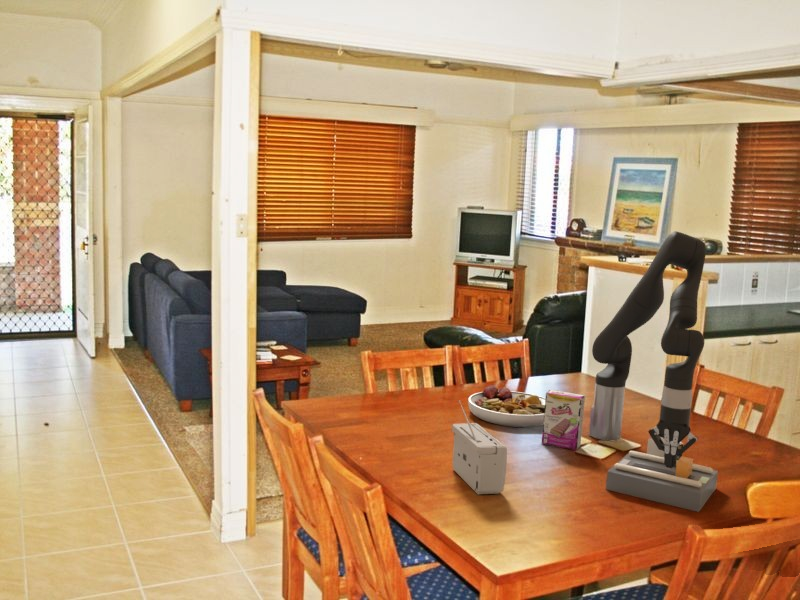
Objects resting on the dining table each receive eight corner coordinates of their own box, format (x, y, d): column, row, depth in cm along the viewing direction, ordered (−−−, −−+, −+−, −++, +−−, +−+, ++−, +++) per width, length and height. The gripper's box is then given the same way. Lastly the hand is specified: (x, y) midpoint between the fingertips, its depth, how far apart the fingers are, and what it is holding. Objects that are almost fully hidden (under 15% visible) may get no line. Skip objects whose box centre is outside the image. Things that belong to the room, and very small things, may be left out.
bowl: (575, 423, 287) (577, 400, 285) (508, 435, 270) (509, 410, 268) (514, 400, 311) (516, 379, 310) (449, 409, 294) (451, 387, 293)
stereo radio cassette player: (505, 495, 219) (511, 420, 216) (475, 497, 217) (480, 421, 214) (475, 467, 239) (480, 397, 236) (447, 468, 237) (452, 398, 233)
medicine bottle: (663, 469, 245) (667, 429, 243) (645, 461, 251) (649, 421, 249) (681, 466, 248) (685, 426, 246) (663, 458, 254) (667, 419, 252)
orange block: (675, 475, 224) (676, 461, 224) (680, 470, 228) (681, 456, 228) (687, 478, 223) (688, 463, 222) (691, 473, 227) (693, 458, 226)
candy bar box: (540, 444, 261) (545, 392, 259) (545, 440, 266) (549, 388, 263) (577, 451, 257) (581, 398, 254) (581, 446, 261) (585, 394, 259)
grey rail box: (605, 489, 227) (607, 465, 226) (628, 468, 244) (630, 446, 243) (698, 511, 215) (701, 486, 213) (715, 488, 231) (718, 465, 230)
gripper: (705, 405, 224) (698, 468, 227) (654, 396, 231) (648, 457, 234) (698, 411, 218) (691, 476, 221) (647, 402, 225) (640, 465, 227)
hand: (669, 466), depth 227 cm, fingers closed
